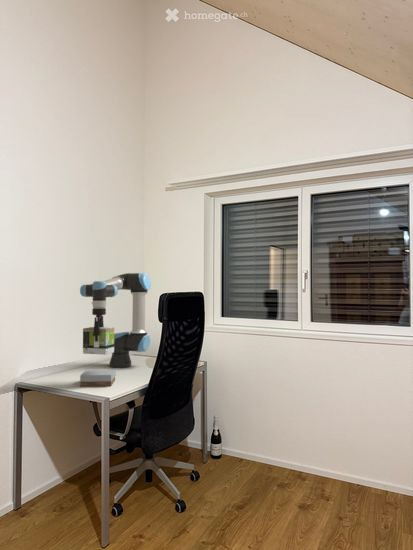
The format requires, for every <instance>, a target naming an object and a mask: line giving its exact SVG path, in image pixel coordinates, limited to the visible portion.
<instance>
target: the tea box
mask: <svg viewBox="0 0 413 550" xmlns="http://www.w3.org/2000/svg"><path fill="white" fill-rule="evenodd" d="M93 333H94V326H89V327H84V328H82V354H85V355H103V356H104V355H105V356H107V355H110V354H112V353H114V334H115V327H113V326H110V327H108V326H107V327H105V326H104V327H100V329H99V347H94V336H93Z"/></svg>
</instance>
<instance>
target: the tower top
mask: <svg viewBox="0 0 413 550" xmlns="http://www.w3.org/2000/svg"><path fill="white" fill-rule="evenodd" d="M116 370H117V369H86V370H85V371H83V372H82V373H81V374H80V375H79V377H80V379H79V380H80V381H79V383H80V382H92V381H112V380H113V378H114V377H115V378H116V375H117V373H116Z"/></svg>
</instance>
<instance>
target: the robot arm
mask: <svg viewBox="0 0 413 550" xmlns="http://www.w3.org/2000/svg"><path fill="white" fill-rule="evenodd" d="M151 287H152V282H151V277H150V276H149V275H148V274H147V273H144V272H143V273H142V272H138V273H137V272H135V273H134V272H133V273H132V272H131V273H130V272H128V273H127V272H126V273H123V274H119V275H115V276H112V277H111V278H109V279H106V280H102V281H101V280H100V281H98V280H95V281H93V282H92V283H90V284H87V283H85V284H81V286H80V288H79V293H80V295H81V297H83V298H92V301H91V305H92V309H91V310H92V312H91V313H92V315H93V316H95V317H94V324H93V327H94V333H93V336H94V347H99V329H100V327H105V325H104V315H105V316H106V314H107V309H106V307H107V298H113V297H116V296H117V294H118V291H120V290H123V291H124V290H125V291H126V290H127V291H130V294H131V295H132V317H131V318H132V325H131V328H132V329H131V331H123V332H116V333H115V332H114V353H111V357H110V360H109V363H108V364H109V367H110V368H116V369H117V368H118V369H119V368H121V369H122V368H127V367H129V368H130V367H131V366H132V359H131V356H130V352H138V353H144V352H147V351H148V349H149V347H150V346H151V345H150V344H151V337H150V335H148V332H147V330H146V295H147V294H148V291H149V290H150V289H151Z"/></svg>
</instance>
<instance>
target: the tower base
mask: <svg viewBox="0 0 413 550" xmlns="http://www.w3.org/2000/svg"><path fill="white" fill-rule="evenodd" d="M115 381H116V376H115V377H114V378H113V380H112V381H92V382H80V381H79V387H81V388H87V387H88V388H89V387H92V388H93V387H94V388H95V387H96V388H97V387H100V388H101V387H112V386H113V384H114V383H115Z"/></svg>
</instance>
